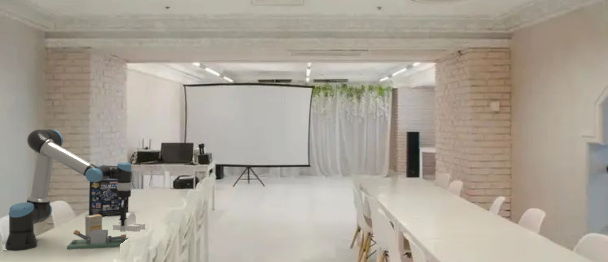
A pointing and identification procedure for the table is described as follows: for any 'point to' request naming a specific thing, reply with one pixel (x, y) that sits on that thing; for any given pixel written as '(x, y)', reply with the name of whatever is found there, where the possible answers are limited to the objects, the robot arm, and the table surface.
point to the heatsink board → (96, 241)
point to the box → (104, 198)
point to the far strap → (117, 237)
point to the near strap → (81, 235)
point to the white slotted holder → (130, 223)
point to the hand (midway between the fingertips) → (122, 231)
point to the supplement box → (92, 223)
